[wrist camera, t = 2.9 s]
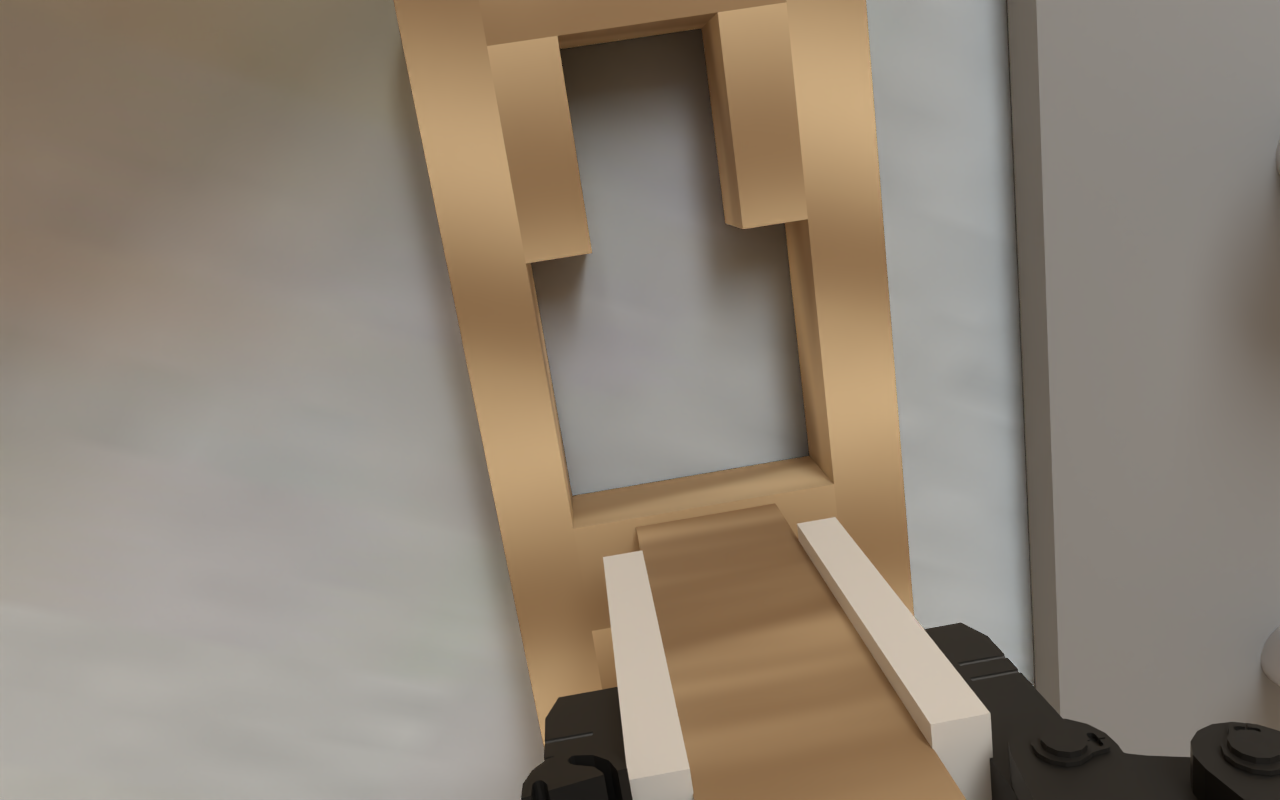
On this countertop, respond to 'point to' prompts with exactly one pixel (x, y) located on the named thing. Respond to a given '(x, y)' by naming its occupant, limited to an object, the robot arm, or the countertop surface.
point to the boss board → (1151, 359)
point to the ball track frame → (712, 502)
